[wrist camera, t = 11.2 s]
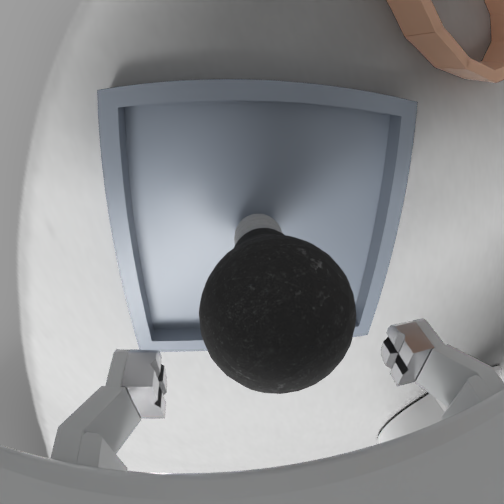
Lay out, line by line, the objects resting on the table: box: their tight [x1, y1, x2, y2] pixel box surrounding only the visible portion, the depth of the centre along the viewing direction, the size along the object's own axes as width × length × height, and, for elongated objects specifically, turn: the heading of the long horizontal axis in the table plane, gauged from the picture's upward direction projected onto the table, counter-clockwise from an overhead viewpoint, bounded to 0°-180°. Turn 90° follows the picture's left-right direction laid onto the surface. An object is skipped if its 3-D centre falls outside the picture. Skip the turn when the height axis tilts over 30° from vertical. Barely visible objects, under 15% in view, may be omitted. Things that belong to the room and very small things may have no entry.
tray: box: [97, 79, 418, 352], centre depth 17 cm, size 16×16×2 cm
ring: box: [387, 0, 504, 83], centre depth 10 cm, size 11×11×3 cm
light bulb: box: [199, 214, 356, 394], centre depth 13 cm, size 6×6×10 cm
